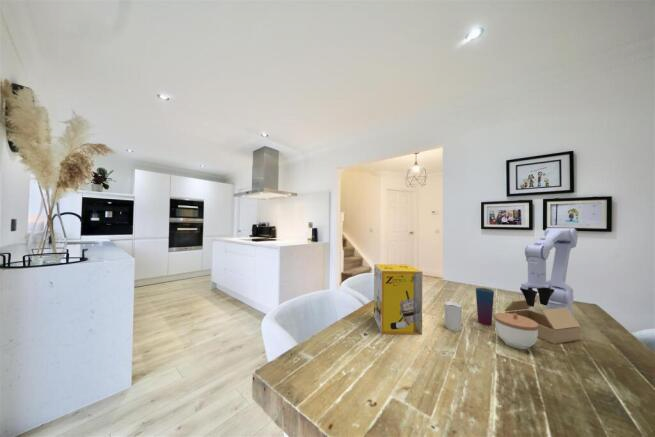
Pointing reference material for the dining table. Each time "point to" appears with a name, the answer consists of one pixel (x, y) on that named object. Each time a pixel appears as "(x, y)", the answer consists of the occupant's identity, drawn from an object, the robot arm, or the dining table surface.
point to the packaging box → (398, 299)
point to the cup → (484, 305)
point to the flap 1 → (518, 305)
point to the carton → (550, 328)
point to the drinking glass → (453, 315)
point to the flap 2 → (560, 318)
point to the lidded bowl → (516, 330)
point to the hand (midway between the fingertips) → (537, 305)
